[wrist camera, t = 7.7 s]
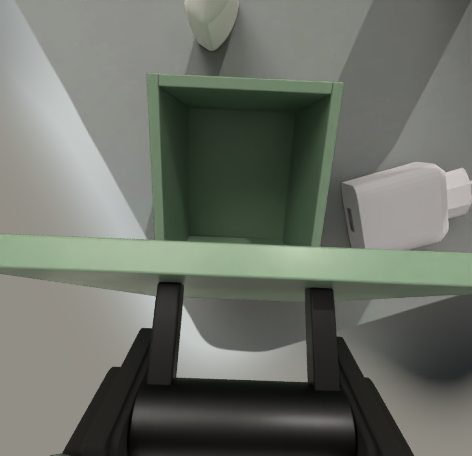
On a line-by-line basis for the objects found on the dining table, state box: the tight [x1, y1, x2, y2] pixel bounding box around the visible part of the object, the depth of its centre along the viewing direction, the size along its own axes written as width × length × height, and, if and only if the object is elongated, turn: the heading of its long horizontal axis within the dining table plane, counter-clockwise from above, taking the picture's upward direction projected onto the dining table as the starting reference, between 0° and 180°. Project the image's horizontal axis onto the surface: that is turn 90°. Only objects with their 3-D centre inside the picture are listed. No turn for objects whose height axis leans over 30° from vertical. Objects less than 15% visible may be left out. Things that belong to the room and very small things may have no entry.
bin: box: [147, 73, 344, 247], centre depth 27 cm, size 17×14×13 cm
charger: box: [341, 162, 472, 250], centre depth 32 cm, size 5×9×15 cm
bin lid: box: [0, 234, 472, 456], centre depth 14 cm, size 18×14×5 cm
